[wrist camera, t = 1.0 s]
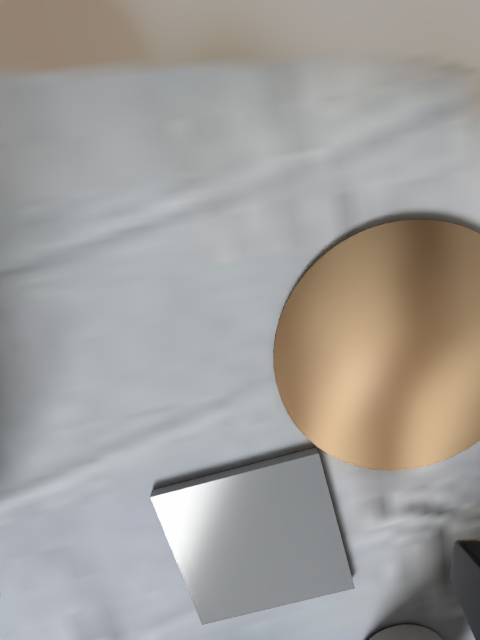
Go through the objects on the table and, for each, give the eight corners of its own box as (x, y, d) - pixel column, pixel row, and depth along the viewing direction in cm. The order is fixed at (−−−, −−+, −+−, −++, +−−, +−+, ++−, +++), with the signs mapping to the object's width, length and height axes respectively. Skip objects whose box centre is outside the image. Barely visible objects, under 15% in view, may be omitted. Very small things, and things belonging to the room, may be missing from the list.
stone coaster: (202, 615, 24) (202, 624, 24) (152, 490, 22) (150, 497, 21) (351, 579, 24) (354, 588, 23) (316, 447, 21) (319, 453, 21)
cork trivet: (283, 477, 22) (284, 481, 21) (262, 235, 18) (262, 235, 18) (521, 453, 22) (526, 457, 21) (543, 205, 18) (550, 204, 18)
